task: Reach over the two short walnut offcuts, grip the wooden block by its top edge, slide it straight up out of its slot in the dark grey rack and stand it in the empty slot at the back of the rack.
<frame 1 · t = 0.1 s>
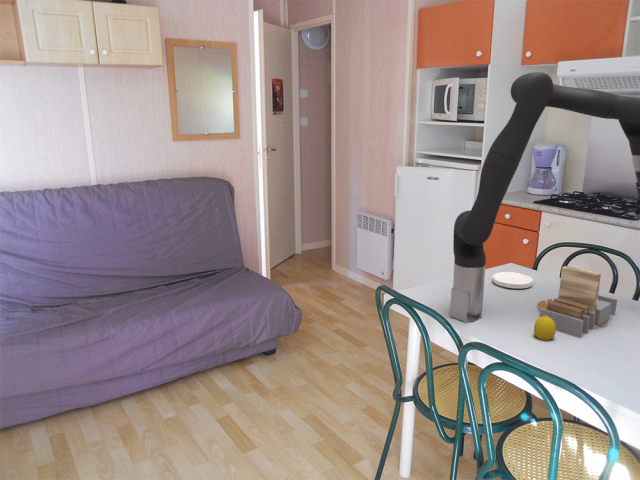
lemon: (543, 342, 144), on the table
rack: (577, 324, 155), on the table
wooden block: (574, 321, 153), point 1 cm above the table, touching rack
plastic lid: (511, 285, 191), on the table
offcut front: (562, 328, 148), point 1 cm above the table, touching rack
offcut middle: (568, 325, 151), point 1 cm above the table, touching rack
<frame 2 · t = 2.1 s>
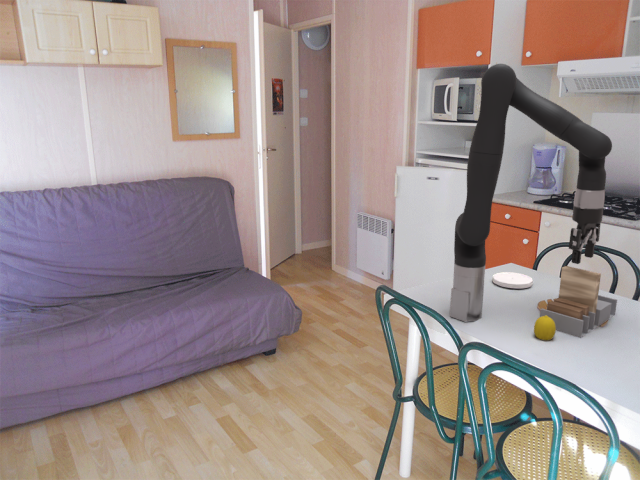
hand: (582, 260, 149), 21 cm above the table, tool pointing down, fingers open, 8 cm apart
nothing on the table moved.
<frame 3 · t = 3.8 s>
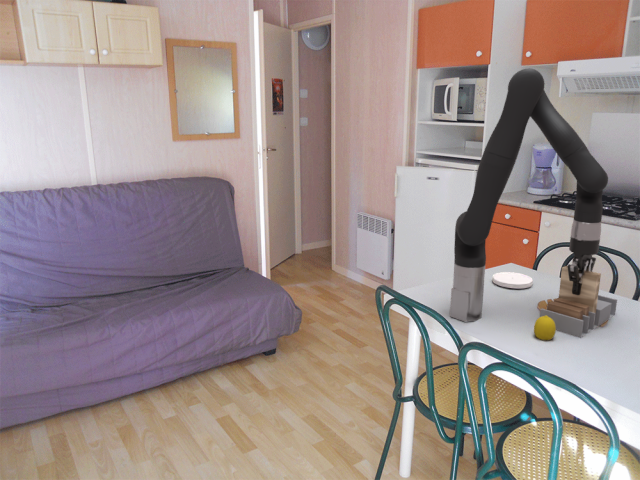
hand: (578, 292, 151), 11 cm above the table, tool pointing down, fingers closed on wooden block, 2 cm apart
wooden block: (574, 321, 153), point 2 cm above the table, touching gripper, rack
everything else where it was.
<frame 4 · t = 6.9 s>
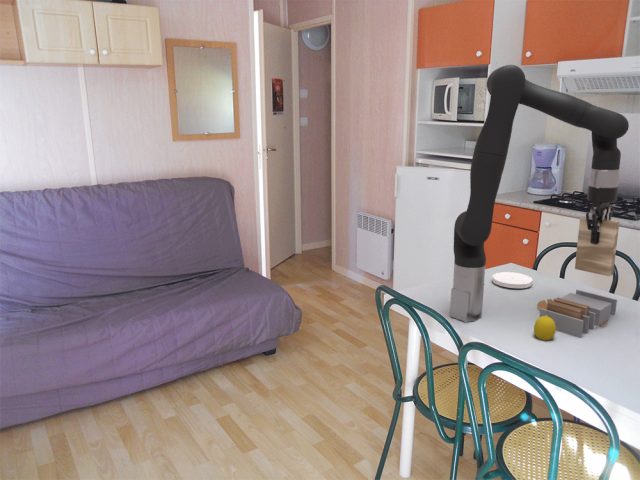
hand: (596, 242, 152), 25 cm above the table, tool pointing down, fingers closed on wooden block, 2 cm apart
wooden block: (593, 271, 154), point 15 cm above the table, touching gripper
everything else where it was.
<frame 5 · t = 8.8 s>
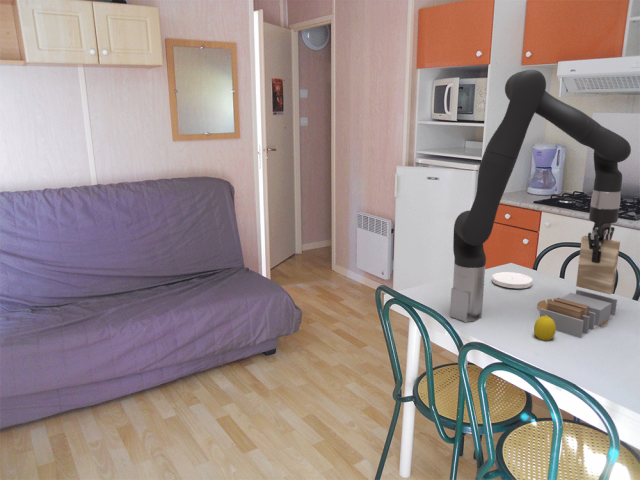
hand: (597, 261, 156), 18 cm above the table, tool pointing down, fingers closed on wooden block, 2 cm apart
wooden block: (594, 289, 159), point 9 cm above the table, touching gripper
everything else where it was.
when the fingers open (12 cm above the table, at t = 10.4 s): wooden block drops 1 cm, resting on rack.
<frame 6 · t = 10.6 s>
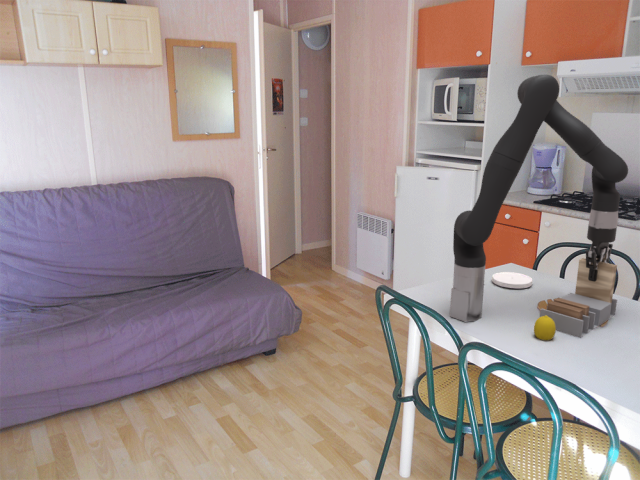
hand: (595, 278, 158), 12 cm above the table, tool pointing down, fingers open, 4 cm apart
wooden block: (591, 311, 161), point 2 cm above the table, touching rack
everything else where it was.
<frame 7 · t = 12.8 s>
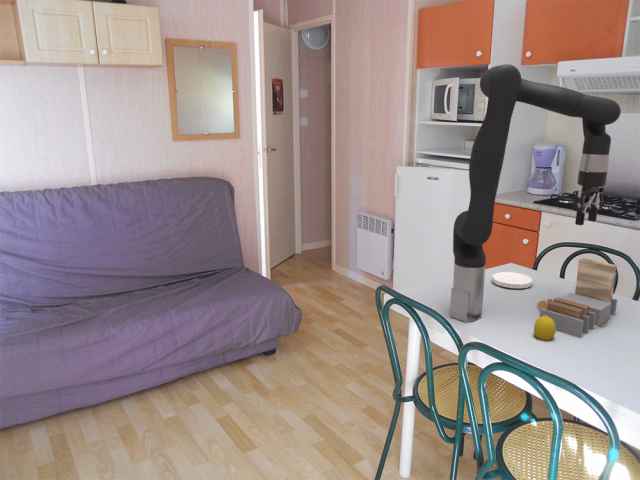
hand: (585, 222, 156), 29 cm above the table, tool pointing down, fingers open, 8 cm apart
nothing on the table moved.
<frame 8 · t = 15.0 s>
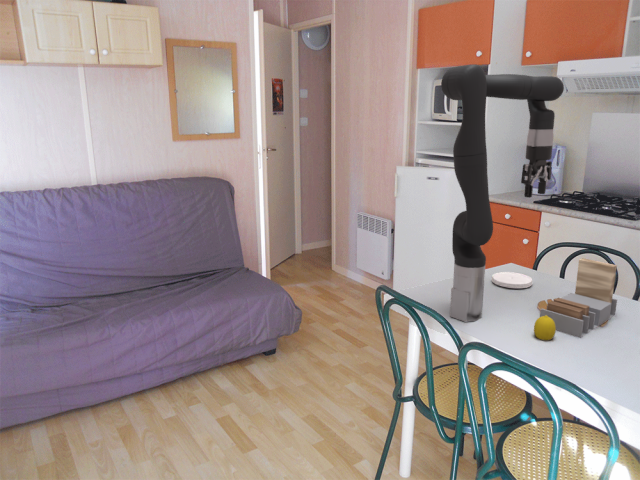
hand: (534, 195, 164), 36 cm above the table, tool pointing down, fingers open, 8 cm apart
nothing on the table moved.
at the end: wooden block 0.1 cm from the target spot on the rack, point 1.5 cm above the rack's base; wooden block tilted 0°; the gripper is holding nothing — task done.
